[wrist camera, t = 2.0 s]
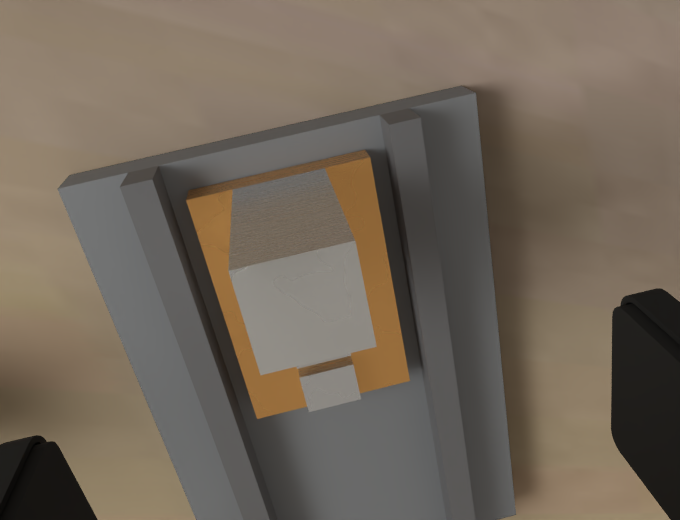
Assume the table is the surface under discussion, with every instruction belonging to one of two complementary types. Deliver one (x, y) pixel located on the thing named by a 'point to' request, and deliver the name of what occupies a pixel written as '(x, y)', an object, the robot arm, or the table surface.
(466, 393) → the rail board
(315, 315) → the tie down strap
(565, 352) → the table surface
